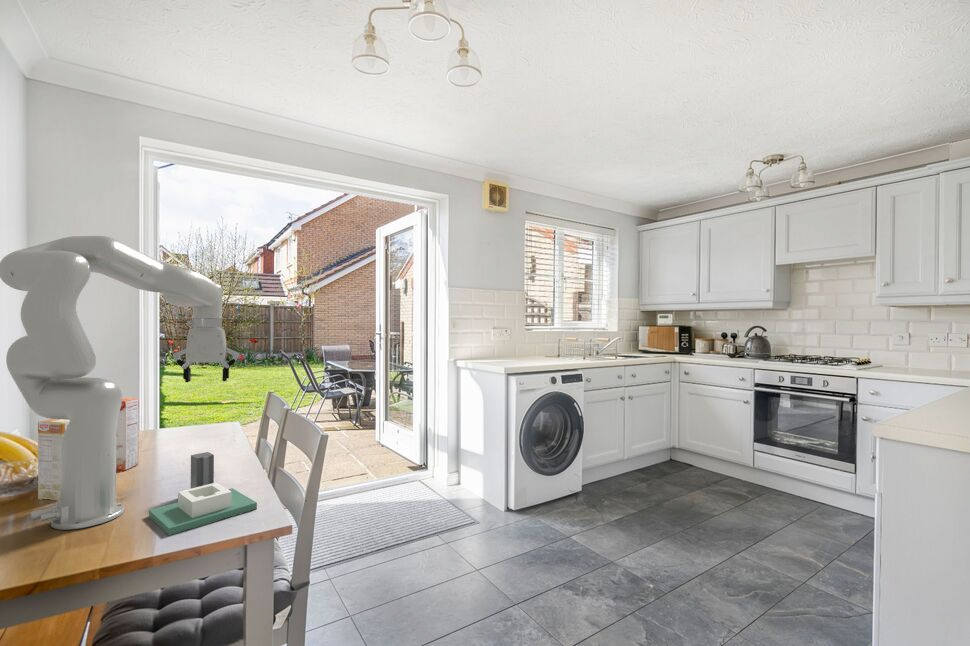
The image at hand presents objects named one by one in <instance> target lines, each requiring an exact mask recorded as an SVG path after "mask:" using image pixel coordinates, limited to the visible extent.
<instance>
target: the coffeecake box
mask: <svg viewBox="0 0 970 646" xmlns="http://www.w3.org/2000/svg"><path fill="white" fill-rule="evenodd" d="M69 422H70V420H66V419H51V418H48V419H44V420H40V421H37V499H38V500H42V499H50V500H49V501H59V500H61V440H62V437H63V434H64V432H65V430H66V428H67V427H68V425H69Z"/></svg>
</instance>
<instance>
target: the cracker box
mask: <svg viewBox="0 0 970 646" xmlns="http://www.w3.org/2000/svg"><path fill="white" fill-rule="evenodd" d="M139 401H140V400H139V398H138V397H122V404H121V408H120V412H119V416H118V421H117V430H116V472H125V471H128V470H131V469H132V468H134V467H137V466H138V465H139V431H140V430H139V427H140V426H139V419H140V417H139V416H140V415H139V414H140V413H139V411H140V410H139V409H140V408H139V403H140V402H139Z"/></svg>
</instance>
